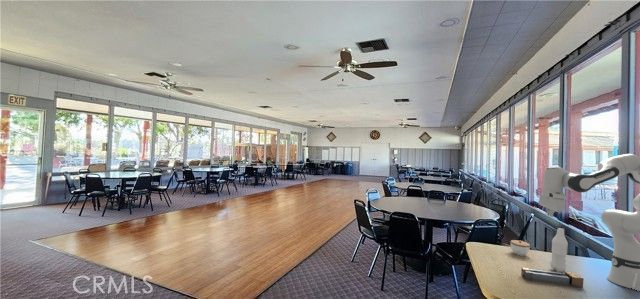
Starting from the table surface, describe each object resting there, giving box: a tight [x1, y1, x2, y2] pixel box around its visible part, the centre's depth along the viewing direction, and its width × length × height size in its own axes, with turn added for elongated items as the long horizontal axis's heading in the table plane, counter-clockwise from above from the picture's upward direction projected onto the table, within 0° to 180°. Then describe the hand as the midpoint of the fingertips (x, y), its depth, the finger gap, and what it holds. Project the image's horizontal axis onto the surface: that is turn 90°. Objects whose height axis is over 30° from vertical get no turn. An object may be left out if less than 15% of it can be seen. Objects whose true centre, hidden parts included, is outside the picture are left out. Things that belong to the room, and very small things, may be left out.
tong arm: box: [521, 267, 567, 278], centre depth 156 cm, size 21×3×4 cm, turn 78°
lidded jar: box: [510, 239, 531, 257], centre depth 192 cm, size 11×11×9 cm
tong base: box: [523, 270, 585, 289], centre depth 154 cm, size 26×7×5 cm, turn 78°
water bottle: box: [550, 227, 569, 273], centre depth 168 cm, size 7×7×25 cm
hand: (550, 216), depth 172 cm, fingers closed
